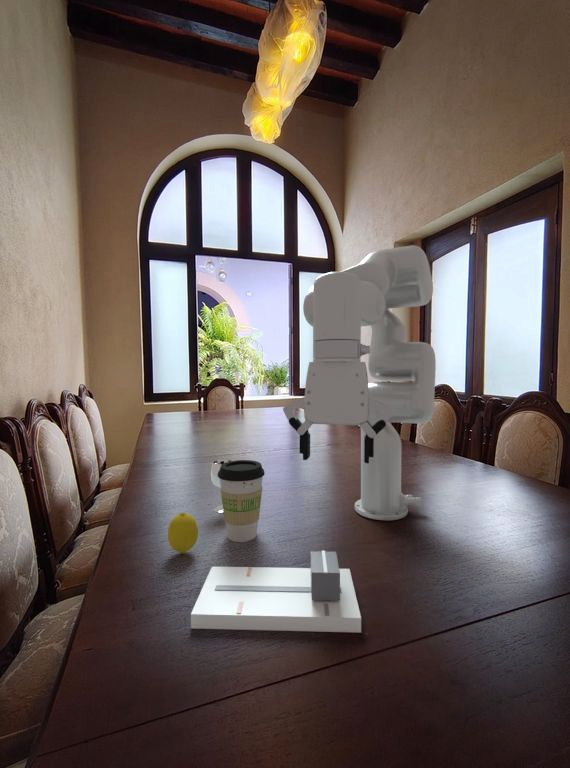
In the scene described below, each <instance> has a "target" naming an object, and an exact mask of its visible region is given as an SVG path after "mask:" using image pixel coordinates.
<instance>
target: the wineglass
mask: <svg viewBox="0 0 570 768" xmlns="http://www.w3.org/2000/svg"><path fill="white" fill-rule="evenodd" d="M230 461H232V460H230V459H217V460H214V461H212V465H211V470H210V479H211V483H212V484H213V485H214V486H215V487H218V488H220V489H221V484H220V478H219V477H218V471H219V470H220V467H221V465H222V464H223V463H226V462H230ZM213 511H214V512H215V513H219V514H221V513H222V514H224V512H223V504H222V503H221V505H218V506H216V507H214V510H213Z"/></svg>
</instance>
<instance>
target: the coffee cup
mask: <svg viewBox="0 0 570 768" xmlns="http://www.w3.org/2000/svg"><path fill="white" fill-rule="evenodd" d="M264 476H265V470H264V468H263V466H262V463H261V462H259V461H256V460H250V459H238V460H231V461H230V462H226V463H223V464H222V465H221V467H220V470H219V471H218V477H219V478H220V484H221V488H220V496H221V505H222V504H223V512H224V513H223V518H224V522H225V530H226V537H227V539H228V540H230V541H231V542H235V543H236V542H237V543H246V542H249V541H252V540H254V539H255V538H256V537H257V534H258V525H259V520H260V513H261V512H260V511H261V503H262V495H263V486H262V485H263V484H262V483H263V477H264Z"/></svg>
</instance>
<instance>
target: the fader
mask: <svg viewBox="0 0 570 768" xmlns="http://www.w3.org/2000/svg"><path fill="white" fill-rule="evenodd" d="M338 561H339V560H338V556H337V551H326V550H321V551H311V550H310V568H311V596H312V600H340V571H339V569H340V567H339V562H338Z"/></svg>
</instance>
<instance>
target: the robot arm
mask: <svg viewBox="0 0 570 768" xmlns="http://www.w3.org/2000/svg"><path fill="white" fill-rule="evenodd" d="M433 285H434V284H433V277H432V273H431V267H430V264H429V260H428V257H427V255H426V252H425V251H424V250H423V249H422V248H421V247H420V246H419V245H407V246H405V245H404V246H399V247H398V246H397V247H391V248H384V249H381V250H380V249H379V250H375V251H373V252H371V253H369V254H368V255H367V256H365V257H364V259H362V260H361V261H360V263H358V264H357V265H354V266H351V267H349V268H346V269H344V270H342V271H330V272H326V273H323V274H320V275H318V277H316V279H315V280H314V282H313V285H312V286H311V287H310V288H309V289H308V291H307V292H306V295H305V297H304V300H303V305H302V309H303V311H302V312H303V316H304V318H305V321H306V322H307V323H308V324H309V326H310V327H312V334H313V335H312V361H309V362H308V366H307V372H306V378H305V385H304V386H305V389H304V396H303V397H301V398H299V399H297V400H295V401H294V402H293V401H292V402H291V403H289V404H288V405H285V406H284V407H282V411H283V412H284V415H285V417H286V419H287V421H288V424H289V425H290V426H291V427H292V428H293V429H294V430H295V432H296V433H297V434H298V435H299V454H300V455H301V454H302V460H303V461H307V460H308V459H310V458H311V457H310V456H311V433H310V432H309V429H310V428H311V427H312V426H313V425H330V426H331V425H332V426H334V425H335V426H359V427H360V499H358V500H357V501H355V503H354V510H355V512H356V513H357V514H359V515H360V516H362V517H364V518H368V519H372V520H376V521H396V520H400V519H403V518H405V517H406V516H407V515H408V511H409V510H408V507H409V506H422V504H423V500H422V497H420V496H419V497H418V496H416V497H415V496H413V494H404V493H402V440H401V437H400V434H399V433H398V431H397V430H396V429H395V427H394V426H393V425H392V423H400V424H401V423H402V424H404V423H405V424H425V423H429V422H430V421H431V419H432V418H433V416H434V415H433V413H434V410H435V409H434V408H435V392H436V391H435V389H436V388H435V387H436V367H437V365H436V364H437V363H436V354H435V353H436V352H435V350H434V348H433V346H432V345H431V344H429V343H428V342H423V341H406V333H407V330H406V329H407V328H406V326H405V324H404V323H403V322H402V320H401V319H400V318H399V317H398V315H396V314H395V313H393V312H392V311H391V310H390V309H397V308H399V309H400V308H401V309H403V308H413V307H414V308H415V307H422V306H425V305H427V304H428V303H430V301H431V299H432V297H433V293H434V286H433ZM369 326H370V327H371V339H370V345H366V344H363V343H361V341H362V339H361V338H362V333H361V332H362V327H369ZM365 355H368V363H367V365H368V366H367V365H366V362H365V361H361V357H363V356H365ZM367 368H368V369H367ZM368 372H369V375H370V376H371V377H372V378H373V379H376V380H380V381H373V382H372V381H371V382H369V377H368ZM397 381H398V382H397ZM400 381H403V382H400ZM407 381H408V382H407ZM301 407H303V416H304V420H303V421H304V422H301V420H299V419H298V418H297V416H296V414H295V412H296V410H298V409H299V408H301Z"/></svg>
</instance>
